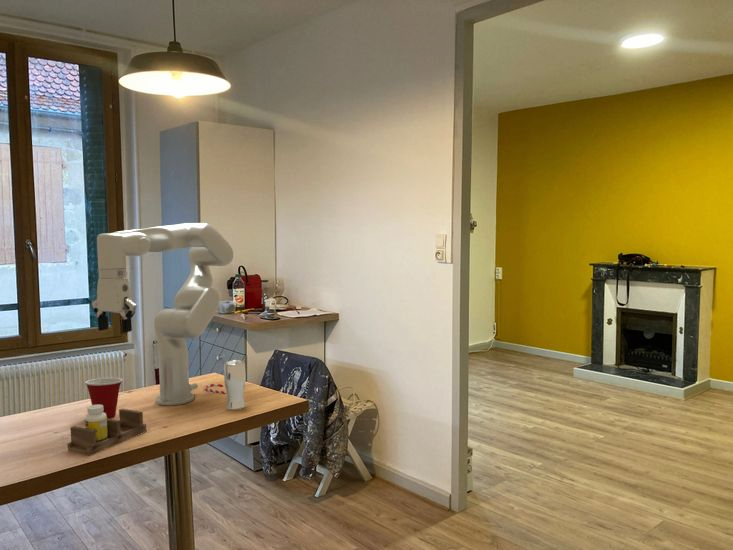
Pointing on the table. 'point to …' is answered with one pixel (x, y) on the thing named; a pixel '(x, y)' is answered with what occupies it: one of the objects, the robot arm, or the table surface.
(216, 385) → the candy cane
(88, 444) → the rack
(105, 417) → the supplement bottle
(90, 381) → the plastic cup
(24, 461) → the table surface
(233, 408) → the beer glass
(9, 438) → the table surface
